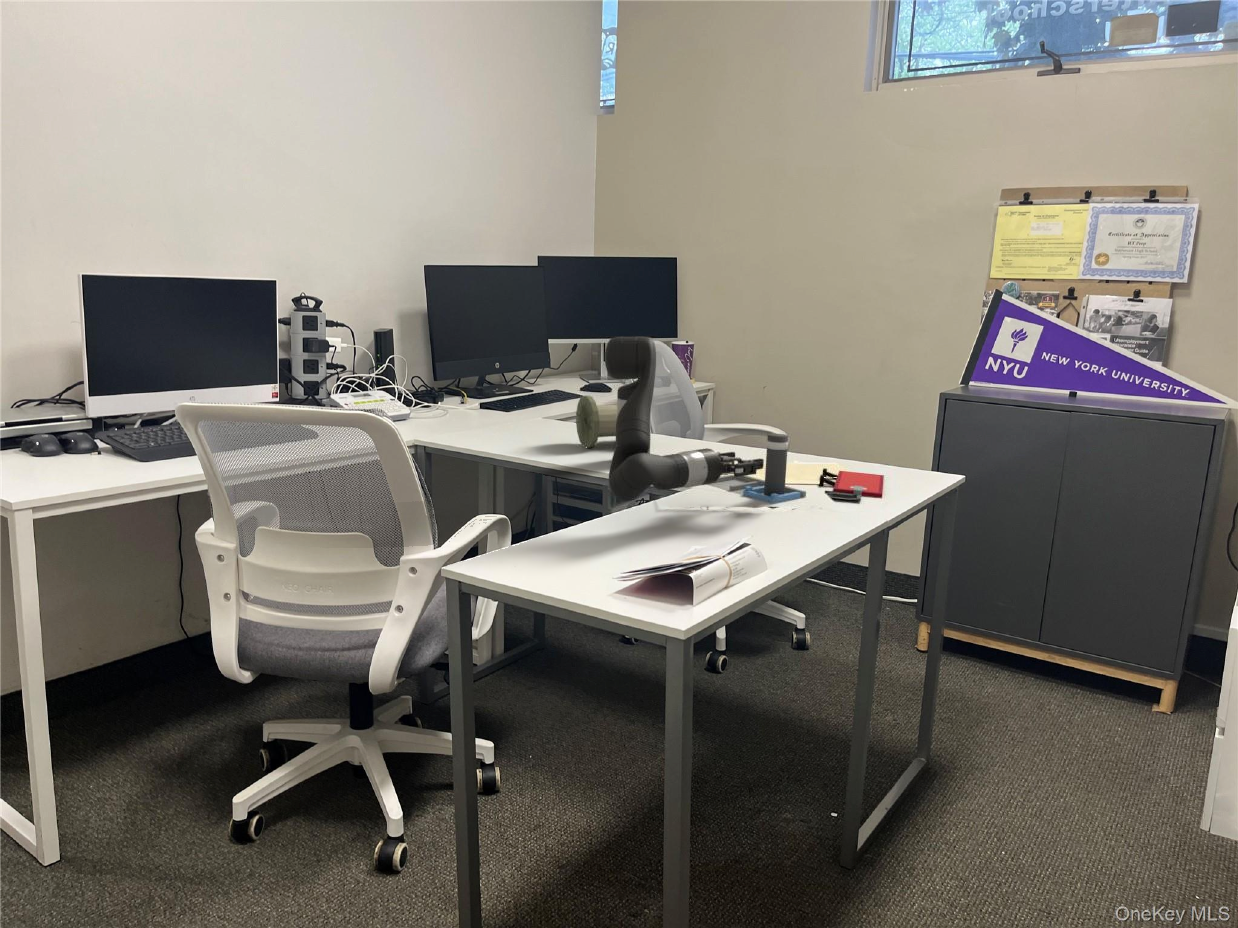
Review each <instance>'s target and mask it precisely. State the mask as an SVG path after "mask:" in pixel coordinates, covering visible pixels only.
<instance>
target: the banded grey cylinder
mask: <svg viewBox="0 0 1238 928" xmlns="http://www.w3.org/2000/svg"><path fill="white" fill-rule="evenodd" d="M766 437H767V440H766V454H765V455H766V457H765V469H764V470H765V472H764V474H765V475H764V480H765V486H764V495H766V496H770V497H771V494H774V493H775V494H779V495H782V494H785V486H786V477H787V476H786V474H787V464H788V450H789V435H788V434H784V433H768V434H767V436H766Z"/></svg>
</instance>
